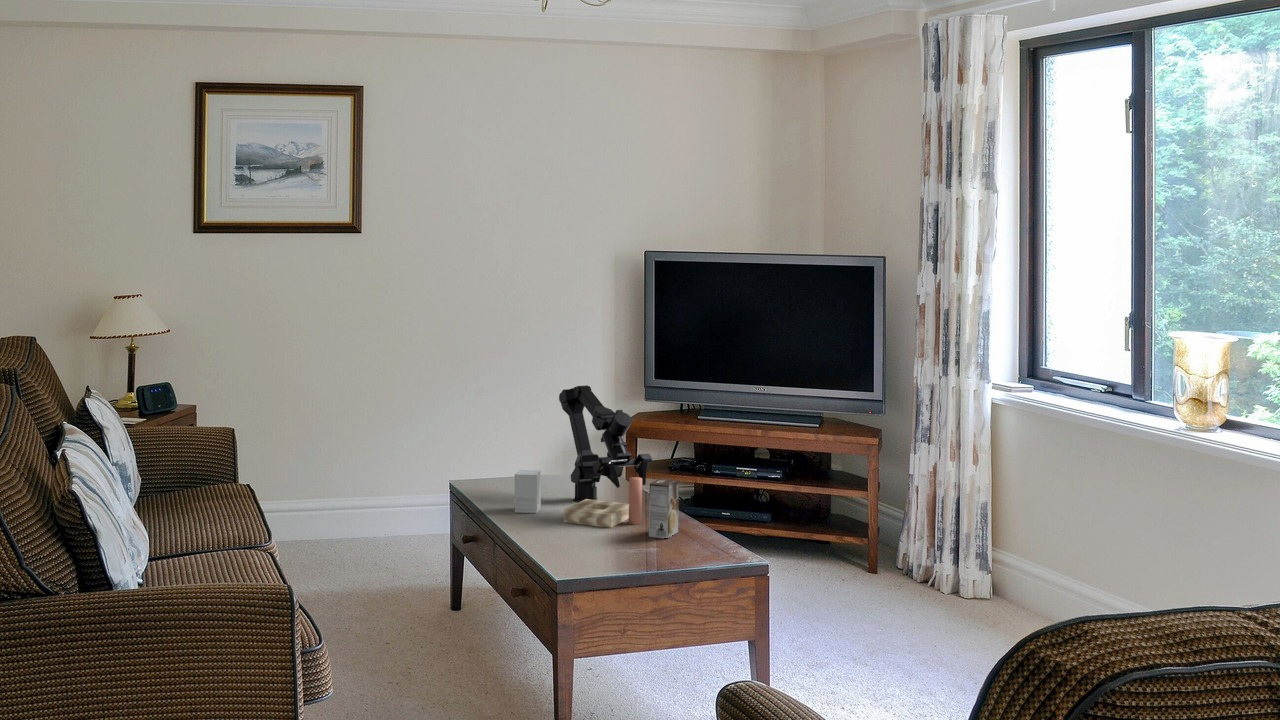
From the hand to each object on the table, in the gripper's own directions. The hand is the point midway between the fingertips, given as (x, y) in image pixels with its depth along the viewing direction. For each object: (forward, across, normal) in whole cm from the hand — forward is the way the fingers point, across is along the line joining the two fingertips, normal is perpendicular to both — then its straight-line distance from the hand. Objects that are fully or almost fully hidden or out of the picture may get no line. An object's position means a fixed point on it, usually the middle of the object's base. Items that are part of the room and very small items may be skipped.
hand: (631, 485), depth 339 cm
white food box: (+21, -1, +5) cm, 22 cm away
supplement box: (-11, +24, -26) cm, 37 cm away
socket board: (+3, +8, -12) cm, 15 cm away
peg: (+10, 0, -6) cm, 11 cm away
